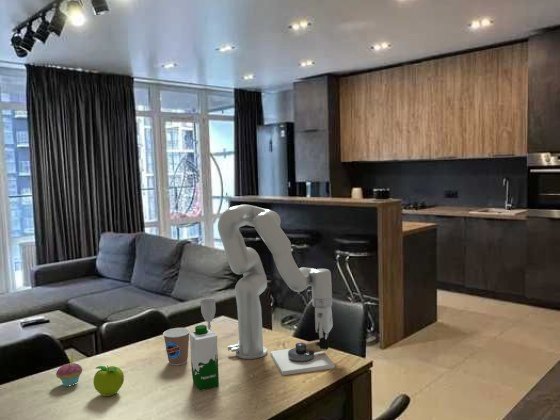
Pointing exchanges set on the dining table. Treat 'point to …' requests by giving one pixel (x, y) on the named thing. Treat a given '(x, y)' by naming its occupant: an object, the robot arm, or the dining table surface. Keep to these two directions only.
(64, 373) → the cupcake
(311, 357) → the cam dial
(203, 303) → the chalice
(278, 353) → the base plate
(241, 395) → the dining table surface
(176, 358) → the coffee cup
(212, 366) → the milk carton
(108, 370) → the fruit
